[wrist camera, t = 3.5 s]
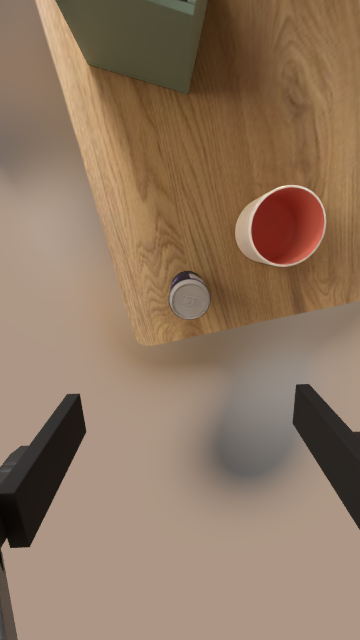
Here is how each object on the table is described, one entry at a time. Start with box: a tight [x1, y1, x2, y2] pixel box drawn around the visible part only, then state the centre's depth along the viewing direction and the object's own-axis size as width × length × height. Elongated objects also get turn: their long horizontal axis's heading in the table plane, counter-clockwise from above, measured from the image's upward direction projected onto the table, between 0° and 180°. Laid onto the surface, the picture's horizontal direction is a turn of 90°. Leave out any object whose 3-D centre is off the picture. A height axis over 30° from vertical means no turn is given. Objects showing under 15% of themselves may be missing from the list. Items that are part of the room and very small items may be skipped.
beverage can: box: [169, 271, 211, 320], centre depth 40 cm, size 6×6×12 cm
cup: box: [235, 185, 326, 267], centre depth 39 cm, size 10×10×10 cm
